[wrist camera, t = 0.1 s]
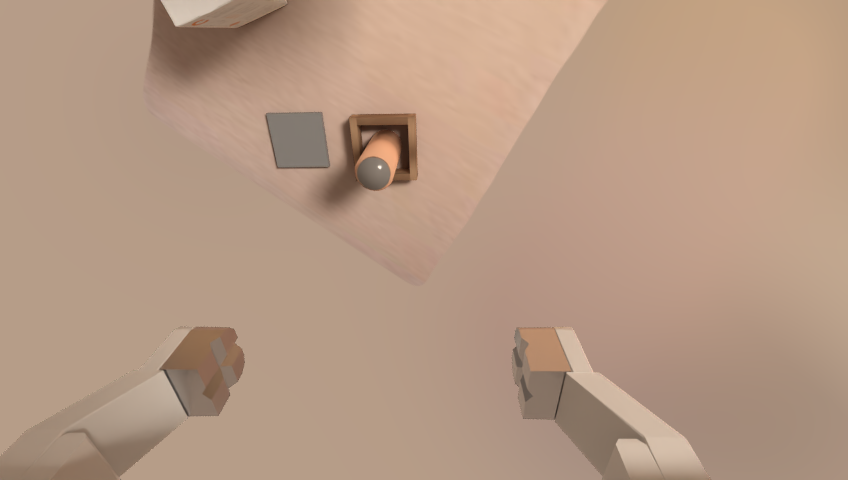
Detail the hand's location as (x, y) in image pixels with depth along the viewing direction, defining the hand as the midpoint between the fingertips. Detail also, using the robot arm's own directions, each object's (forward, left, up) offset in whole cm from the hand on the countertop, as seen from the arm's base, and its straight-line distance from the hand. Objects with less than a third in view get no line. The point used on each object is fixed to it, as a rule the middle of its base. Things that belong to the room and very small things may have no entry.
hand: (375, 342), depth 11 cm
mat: (+6, -19, -48) cm, 52 cm away
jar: (+7, -6, -48) cm, 49 cm away
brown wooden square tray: (+7, -6, -48) cm, 49 cm away
